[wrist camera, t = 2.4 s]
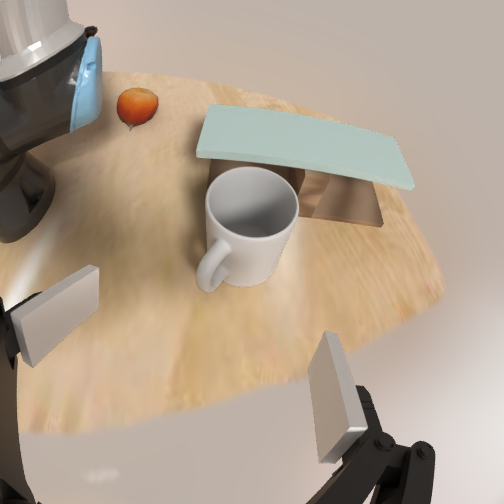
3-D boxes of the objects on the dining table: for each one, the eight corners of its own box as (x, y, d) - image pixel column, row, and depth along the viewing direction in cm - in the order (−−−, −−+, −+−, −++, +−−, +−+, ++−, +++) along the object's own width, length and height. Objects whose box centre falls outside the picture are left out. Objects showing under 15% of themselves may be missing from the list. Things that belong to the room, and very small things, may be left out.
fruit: (103, 121, 41) (115, 82, 37) (134, 120, 48) (146, 85, 43) (124, 136, 39) (137, 92, 35) (157, 134, 46) (171, 96, 42)
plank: (196, 157, 29) (196, 149, 28) (209, 111, 34) (209, 104, 33) (411, 190, 32) (415, 185, 31) (391, 143, 36) (394, 137, 35)
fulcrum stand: (205, 207, 36) (203, 164, 29) (215, 148, 42) (217, 108, 35) (380, 227, 38) (407, 195, 31) (365, 170, 44) (384, 138, 37)
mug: (233, 214, 36) (240, 153, 26) (289, 249, 35) (315, 194, 25) (174, 283, 31) (156, 234, 21) (235, 326, 29) (244, 295, 20)
